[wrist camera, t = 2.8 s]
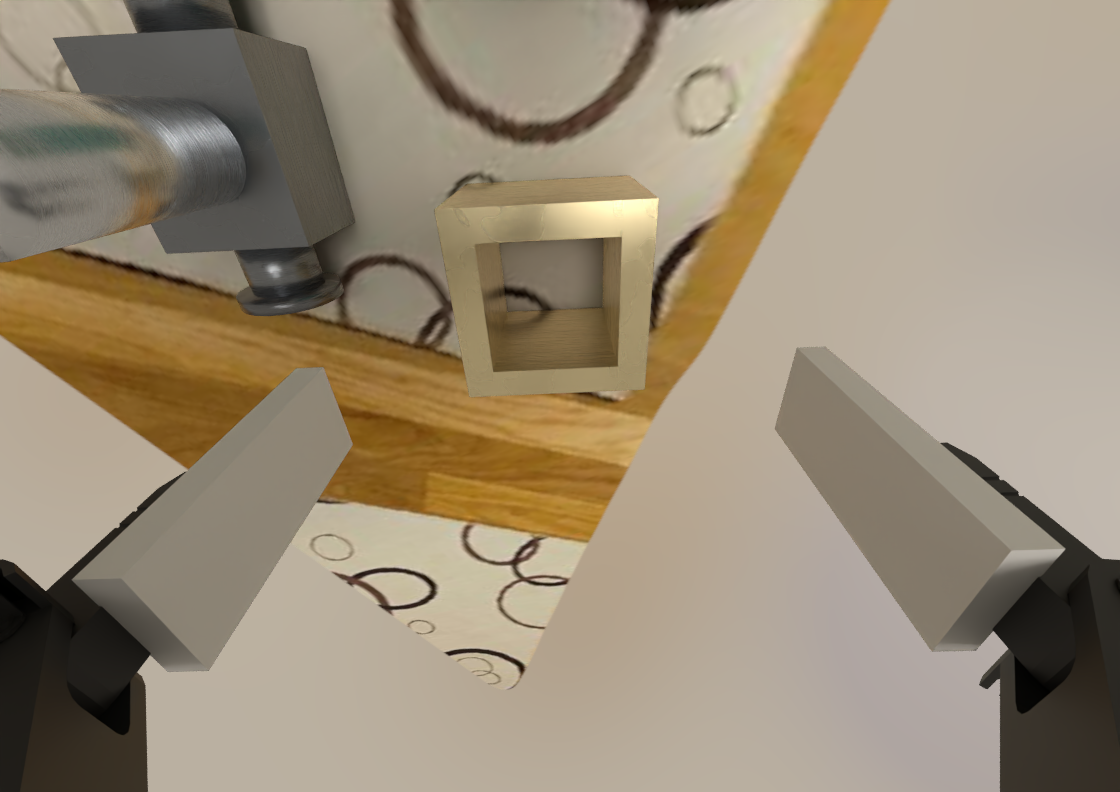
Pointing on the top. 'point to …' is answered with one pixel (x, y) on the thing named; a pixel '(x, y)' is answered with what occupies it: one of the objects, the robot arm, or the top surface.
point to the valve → (180, 151)
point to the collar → (550, 335)
